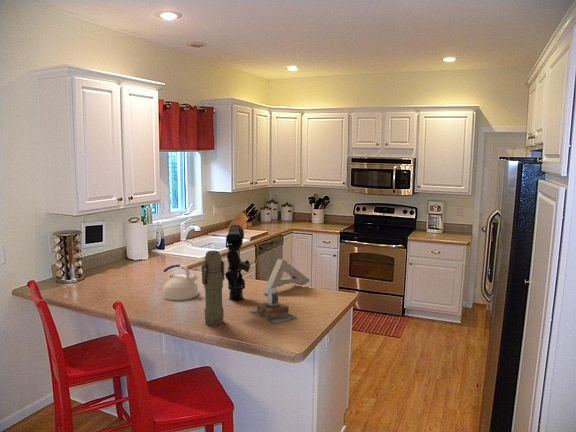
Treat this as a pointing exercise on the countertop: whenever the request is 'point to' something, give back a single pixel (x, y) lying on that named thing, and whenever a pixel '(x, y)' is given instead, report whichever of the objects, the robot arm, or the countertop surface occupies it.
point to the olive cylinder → (213, 287)
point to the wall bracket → (278, 281)
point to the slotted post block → (274, 313)
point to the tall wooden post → (272, 298)
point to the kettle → (180, 286)
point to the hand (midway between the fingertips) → (234, 286)
